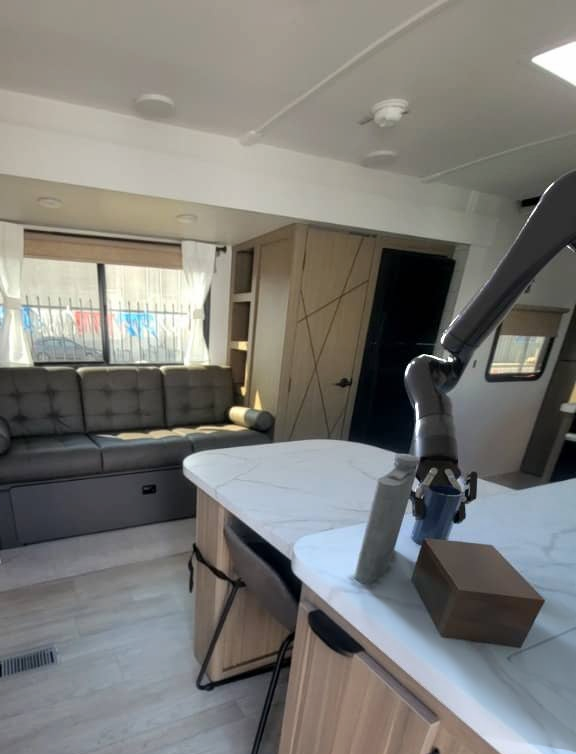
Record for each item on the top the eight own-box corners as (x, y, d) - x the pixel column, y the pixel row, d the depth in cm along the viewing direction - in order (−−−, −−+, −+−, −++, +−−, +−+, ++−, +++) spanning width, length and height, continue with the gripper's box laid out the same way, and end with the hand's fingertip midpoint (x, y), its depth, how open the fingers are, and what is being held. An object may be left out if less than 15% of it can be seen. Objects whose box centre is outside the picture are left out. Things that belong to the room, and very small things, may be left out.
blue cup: (439, 534, 83) (455, 484, 78) (450, 550, 77) (469, 497, 72) (406, 531, 84) (421, 482, 79) (416, 546, 78) (432, 494, 73)
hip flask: (377, 542, 79) (403, 442, 71) (399, 549, 77) (429, 447, 68) (351, 578, 68) (379, 465, 59) (376, 588, 66) (409, 472, 57)
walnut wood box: (475, 586, 67) (492, 544, 63) (521, 648, 54) (545, 600, 51) (410, 579, 68) (423, 537, 65) (441, 637, 56) (459, 589, 52)
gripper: (404, 430, 79) (406, 510, 74) (484, 435, 77) (492, 518, 72) (390, 448, 86) (391, 522, 81) (463, 454, 84) (469, 530, 79)
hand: (439, 520), depth 77 cm, fingers closed on blue cup, 6 cm apart
